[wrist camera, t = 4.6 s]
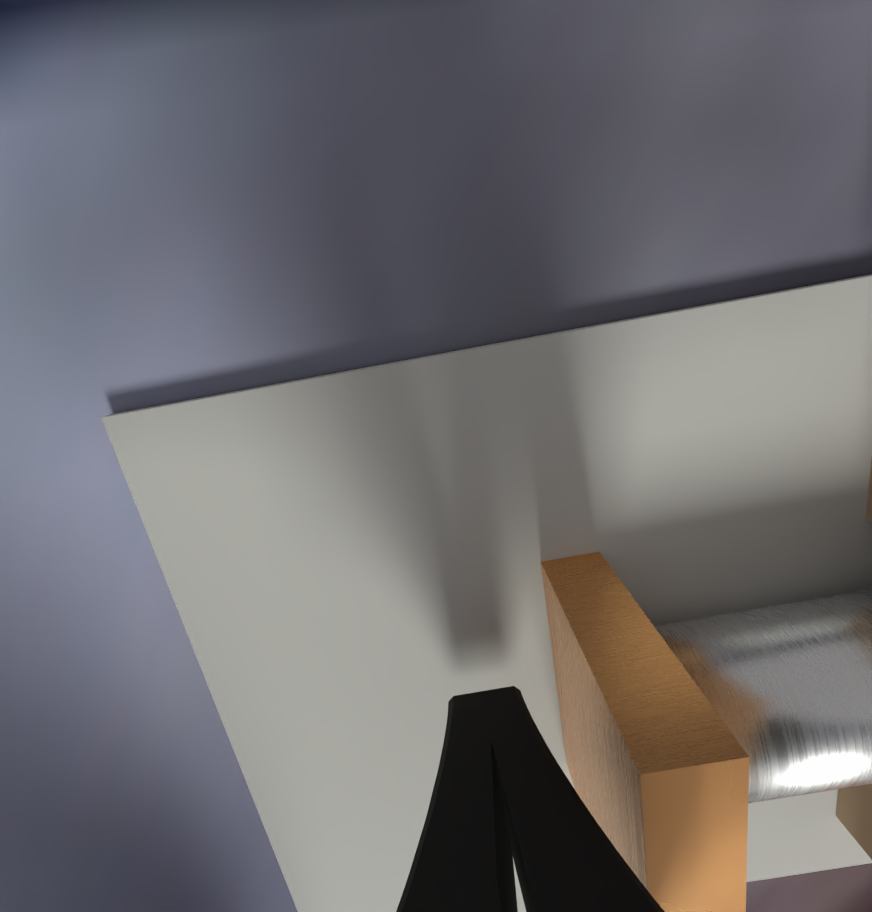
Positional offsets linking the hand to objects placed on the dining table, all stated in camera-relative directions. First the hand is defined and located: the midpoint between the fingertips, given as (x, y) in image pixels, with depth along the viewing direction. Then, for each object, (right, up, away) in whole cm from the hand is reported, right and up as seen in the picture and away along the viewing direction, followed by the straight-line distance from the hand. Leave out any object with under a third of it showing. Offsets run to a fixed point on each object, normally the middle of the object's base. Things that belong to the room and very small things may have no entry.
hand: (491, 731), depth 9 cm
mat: (+4, +1, +2) cm, 4 cm away
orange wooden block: (+7, +2, +1) cm, 7 cm away
